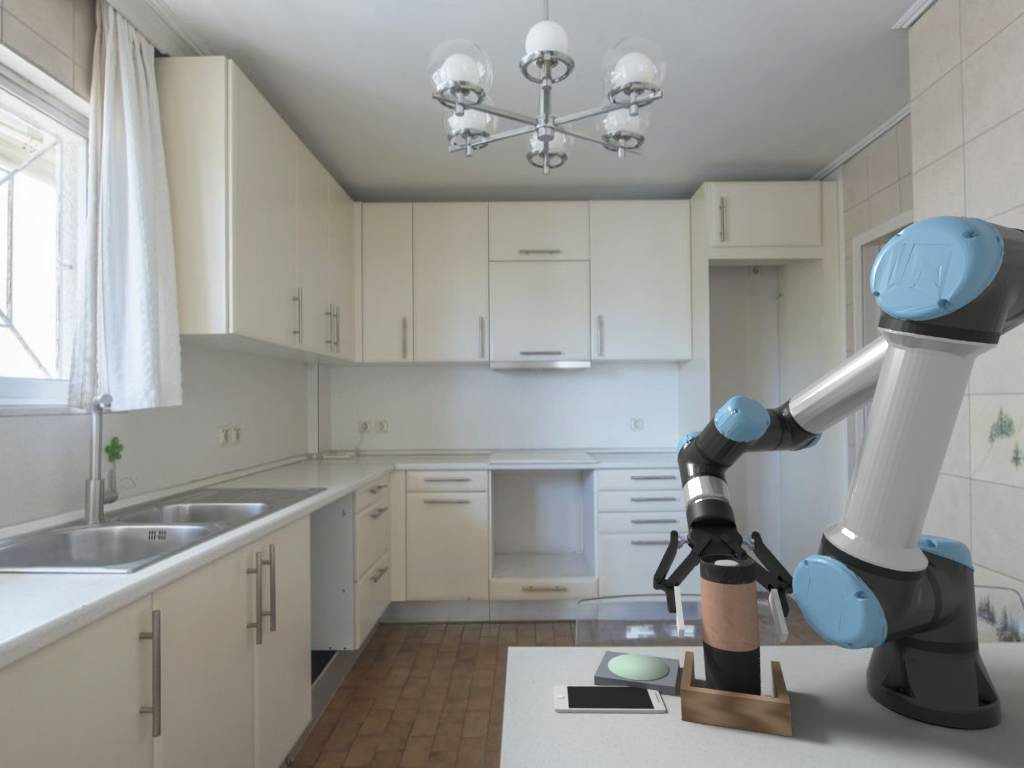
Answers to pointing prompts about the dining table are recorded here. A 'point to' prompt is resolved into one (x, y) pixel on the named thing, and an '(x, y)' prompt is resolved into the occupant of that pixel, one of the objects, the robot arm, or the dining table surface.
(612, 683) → the dock pad
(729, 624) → the travel mug
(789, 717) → the mug cradle
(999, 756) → the dining table surface
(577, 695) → the smartphone
